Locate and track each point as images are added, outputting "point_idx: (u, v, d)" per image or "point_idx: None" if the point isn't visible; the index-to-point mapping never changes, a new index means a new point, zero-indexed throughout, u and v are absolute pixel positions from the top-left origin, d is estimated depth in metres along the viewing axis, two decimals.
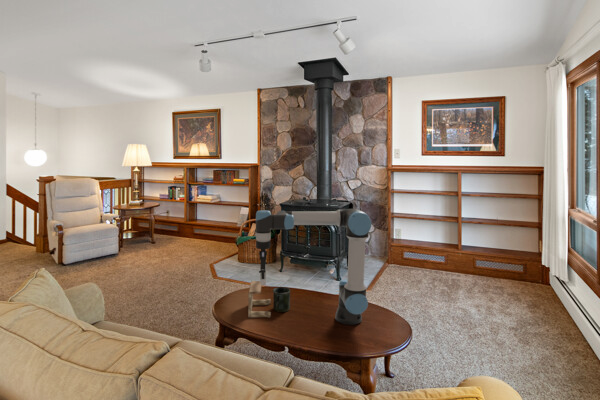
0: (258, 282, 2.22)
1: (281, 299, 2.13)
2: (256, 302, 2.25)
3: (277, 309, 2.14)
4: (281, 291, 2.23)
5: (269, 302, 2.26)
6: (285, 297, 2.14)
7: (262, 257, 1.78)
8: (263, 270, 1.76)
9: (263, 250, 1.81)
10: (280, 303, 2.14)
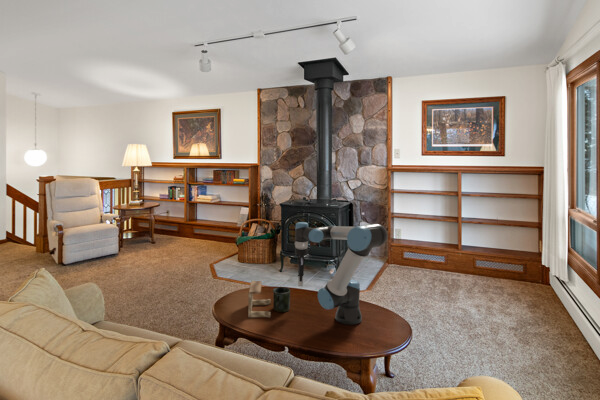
0: (258, 282, 2.22)
1: (281, 299, 2.13)
2: (256, 302, 2.25)
3: (277, 309, 2.14)
4: (281, 291, 2.23)
5: (269, 302, 2.26)
6: (285, 297, 2.14)
7: (301, 265, 2.11)
8: (301, 274, 2.13)
9: (302, 256, 2.12)
10: (280, 303, 2.14)
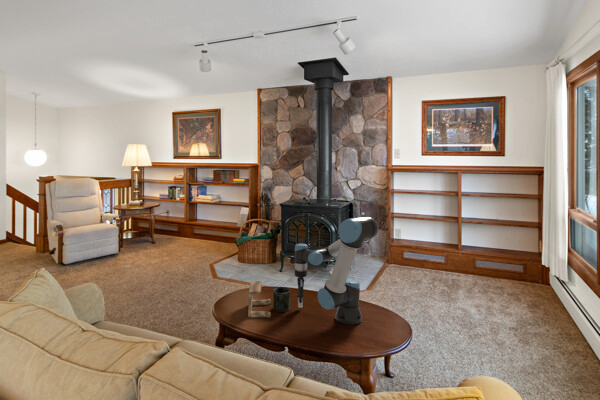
0: (258, 282, 2.22)
1: (281, 299, 2.13)
2: (256, 302, 2.25)
3: (277, 309, 2.14)
4: (281, 291, 2.23)
5: (269, 302, 2.26)
6: (285, 297, 2.14)
7: (300, 287, 2.12)
8: (301, 295, 2.14)
9: (301, 278, 2.13)
10: (280, 303, 2.14)
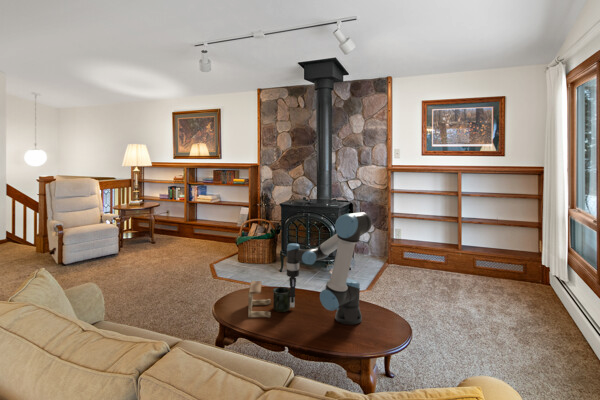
0: (258, 282, 2.22)
1: (281, 299, 2.13)
2: (256, 302, 2.25)
3: (277, 309, 2.14)
4: (281, 291, 2.23)
5: (269, 302, 2.26)
6: (285, 297, 2.14)
7: (292, 287, 2.12)
8: None
9: (293, 278, 2.13)
10: (280, 303, 2.14)
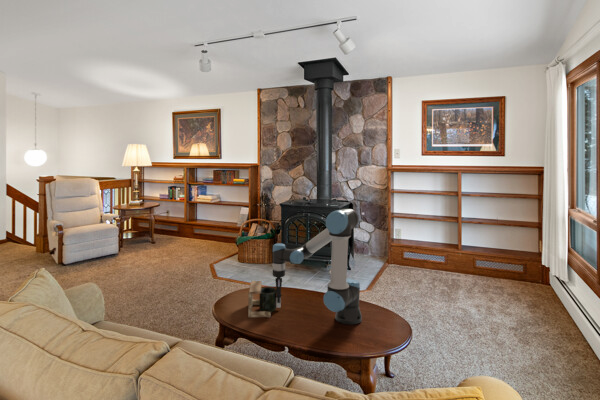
0: (258, 282, 2.22)
1: (267, 299, 2.12)
2: (256, 302, 2.25)
3: (263, 309, 2.14)
4: (267, 291, 2.22)
5: None
6: (271, 297, 2.13)
7: (278, 287, 2.11)
8: (279, 296, 2.13)
9: (279, 278, 2.12)
10: (266, 303, 2.13)
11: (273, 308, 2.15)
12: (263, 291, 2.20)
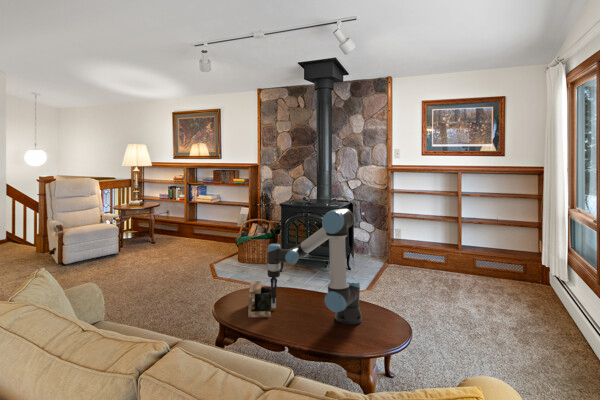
0: (258, 282, 2.22)
1: (263, 299, 2.12)
2: None
3: (259, 310, 2.13)
4: (262, 291, 2.22)
5: None
6: (267, 297, 2.13)
7: (273, 287, 2.11)
8: None
9: (274, 278, 2.12)
10: (262, 303, 2.12)
11: (268, 308, 2.15)
12: None
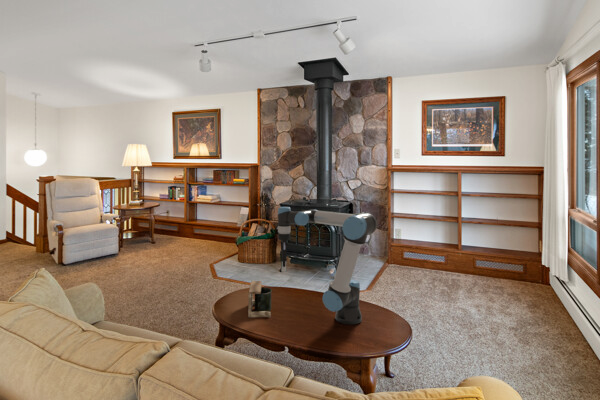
0: (258, 282, 2.22)
1: (263, 299, 2.12)
2: None
3: (259, 310, 2.13)
4: (262, 291, 2.22)
5: None
6: (267, 297, 2.13)
7: (283, 250, 2.09)
8: (284, 259, 2.11)
9: (284, 241, 2.10)
10: (262, 303, 2.12)
11: (268, 308, 2.15)
12: None
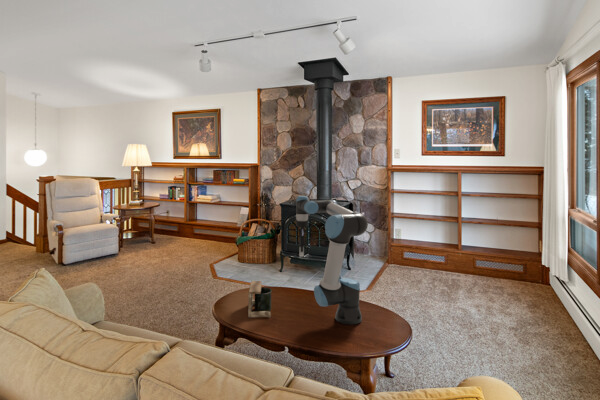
0: (258, 282, 2.22)
1: (263, 299, 2.12)
2: None
3: (259, 310, 2.13)
4: (262, 291, 2.22)
5: None
6: (267, 297, 2.13)
7: (302, 236, 2.24)
8: (302, 244, 2.27)
9: (302, 228, 2.25)
10: (262, 303, 2.12)
11: (268, 308, 2.15)
12: None
